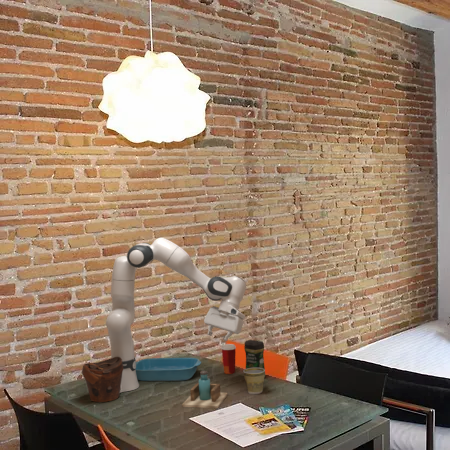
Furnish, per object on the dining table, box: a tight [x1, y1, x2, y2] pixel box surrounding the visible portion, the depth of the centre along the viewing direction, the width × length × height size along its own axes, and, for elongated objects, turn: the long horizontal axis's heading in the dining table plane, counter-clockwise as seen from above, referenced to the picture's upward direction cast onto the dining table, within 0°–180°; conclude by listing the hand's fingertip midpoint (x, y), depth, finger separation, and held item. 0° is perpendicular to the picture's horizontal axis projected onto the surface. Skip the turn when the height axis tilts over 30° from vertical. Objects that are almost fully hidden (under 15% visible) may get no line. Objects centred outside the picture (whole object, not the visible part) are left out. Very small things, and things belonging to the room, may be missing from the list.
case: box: [81, 357, 123, 403], centre depth 282 cm, size 18×20×18 cm
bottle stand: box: [181, 382, 229, 409], centre depth 272 cm, size 16×18×6 cm
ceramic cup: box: [242, 368, 266, 395], centre depth 283 cm, size 13×10×10 cm
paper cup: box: [220, 343, 237, 375], centre depth 315 cm, size 8×8×14 cm
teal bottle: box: [198, 370, 211, 400], centre depth 272 cm, size 5×5×12 cm
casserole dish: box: [136, 357, 202, 382], centre depth 314 cm, size 37×22×7 cm, turn 82°
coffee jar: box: [243, 339, 266, 378], centre depth 304 cm, size 10×8×19 cm
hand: (217, 337), depth 285 cm, fingers open, 8 cm apart
